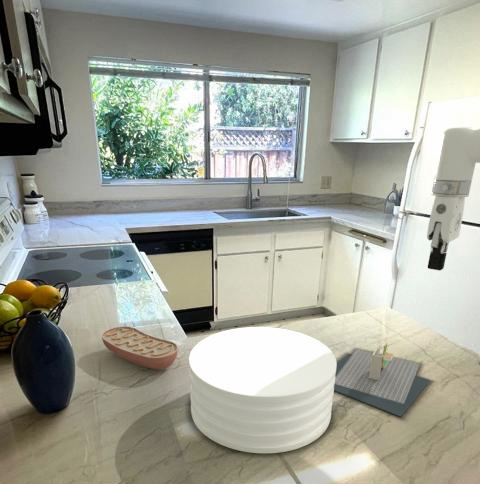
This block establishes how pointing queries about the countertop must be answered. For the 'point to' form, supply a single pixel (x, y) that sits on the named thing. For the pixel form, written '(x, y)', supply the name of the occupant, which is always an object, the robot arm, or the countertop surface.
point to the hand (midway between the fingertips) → (435, 268)
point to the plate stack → (261, 388)
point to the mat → (381, 402)
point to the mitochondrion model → (140, 347)
